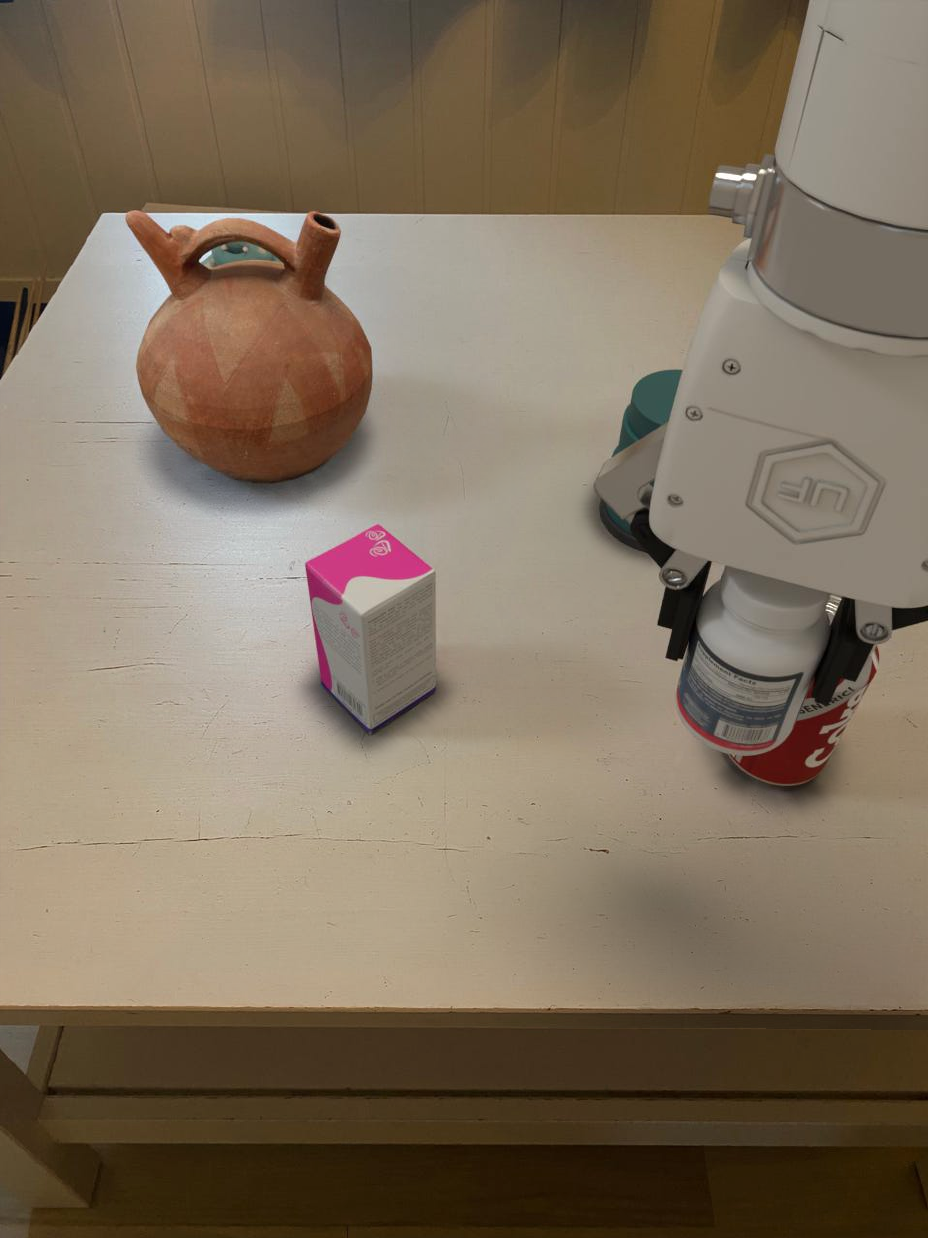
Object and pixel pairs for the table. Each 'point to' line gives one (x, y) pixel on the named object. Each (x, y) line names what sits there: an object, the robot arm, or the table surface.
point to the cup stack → (642, 432)
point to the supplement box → (374, 626)
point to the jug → (252, 349)
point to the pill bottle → (751, 661)
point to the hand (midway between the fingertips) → (752, 654)
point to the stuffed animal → (237, 254)
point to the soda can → (812, 729)
